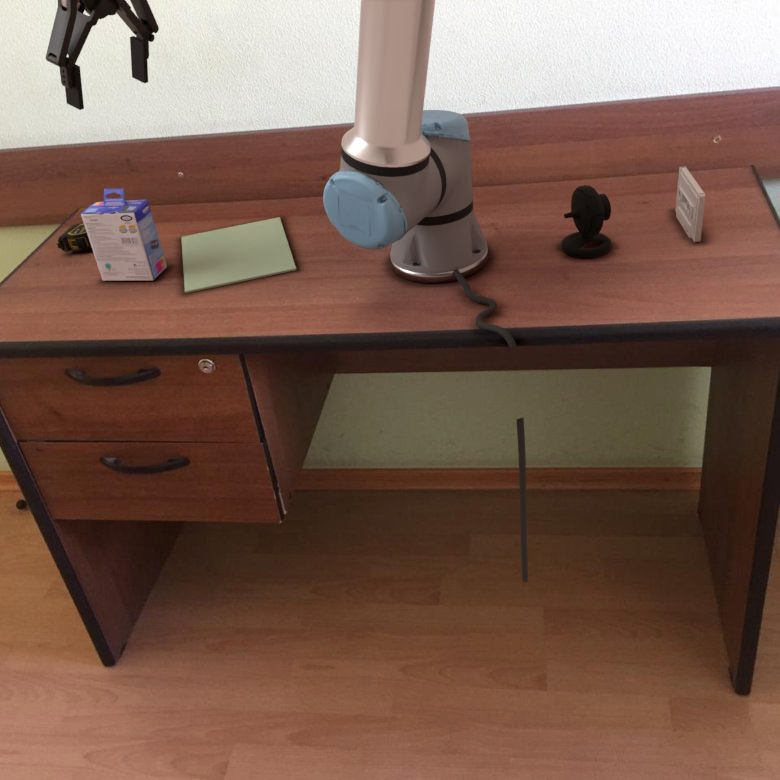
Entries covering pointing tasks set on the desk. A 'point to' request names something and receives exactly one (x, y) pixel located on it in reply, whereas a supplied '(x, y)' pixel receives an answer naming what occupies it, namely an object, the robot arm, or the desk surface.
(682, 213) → the cassette
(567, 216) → the webcam
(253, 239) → the mat
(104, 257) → the ink cartridge box
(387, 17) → the robot arm
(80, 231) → the tape measure
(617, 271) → the desk surface
